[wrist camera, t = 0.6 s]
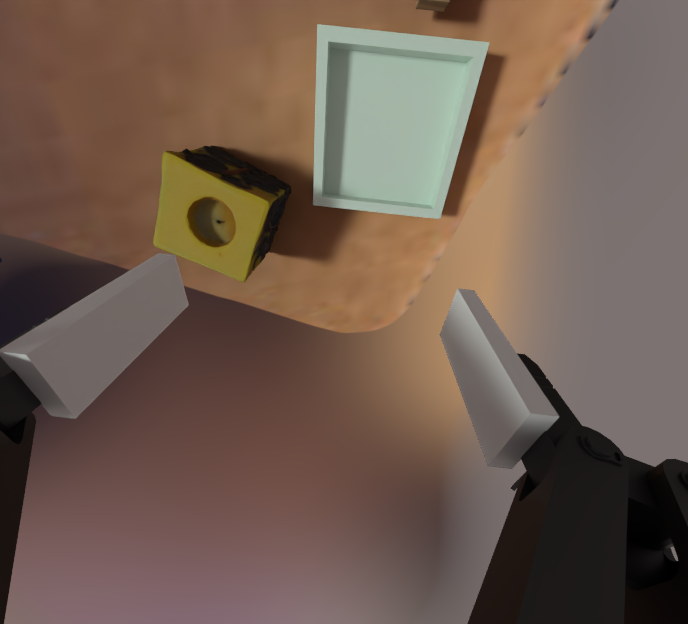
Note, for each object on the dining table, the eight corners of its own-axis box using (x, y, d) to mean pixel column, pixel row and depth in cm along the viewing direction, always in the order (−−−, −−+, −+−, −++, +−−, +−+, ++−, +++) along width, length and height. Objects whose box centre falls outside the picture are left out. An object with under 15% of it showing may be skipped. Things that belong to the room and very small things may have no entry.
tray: (321, 34, 26) (317, 24, 23) (477, 51, 26) (489, 42, 23) (316, 200, 34) (313, 205, 32) (434, 212, 34) (440, 218, 32)
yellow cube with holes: (198, 221, 37) (149, 246, 28) (212, 142, 32) (157, 145, 23) (269, 254, 39) (243, 287, 30) (293, 185, 34) (270, 202, 25)
